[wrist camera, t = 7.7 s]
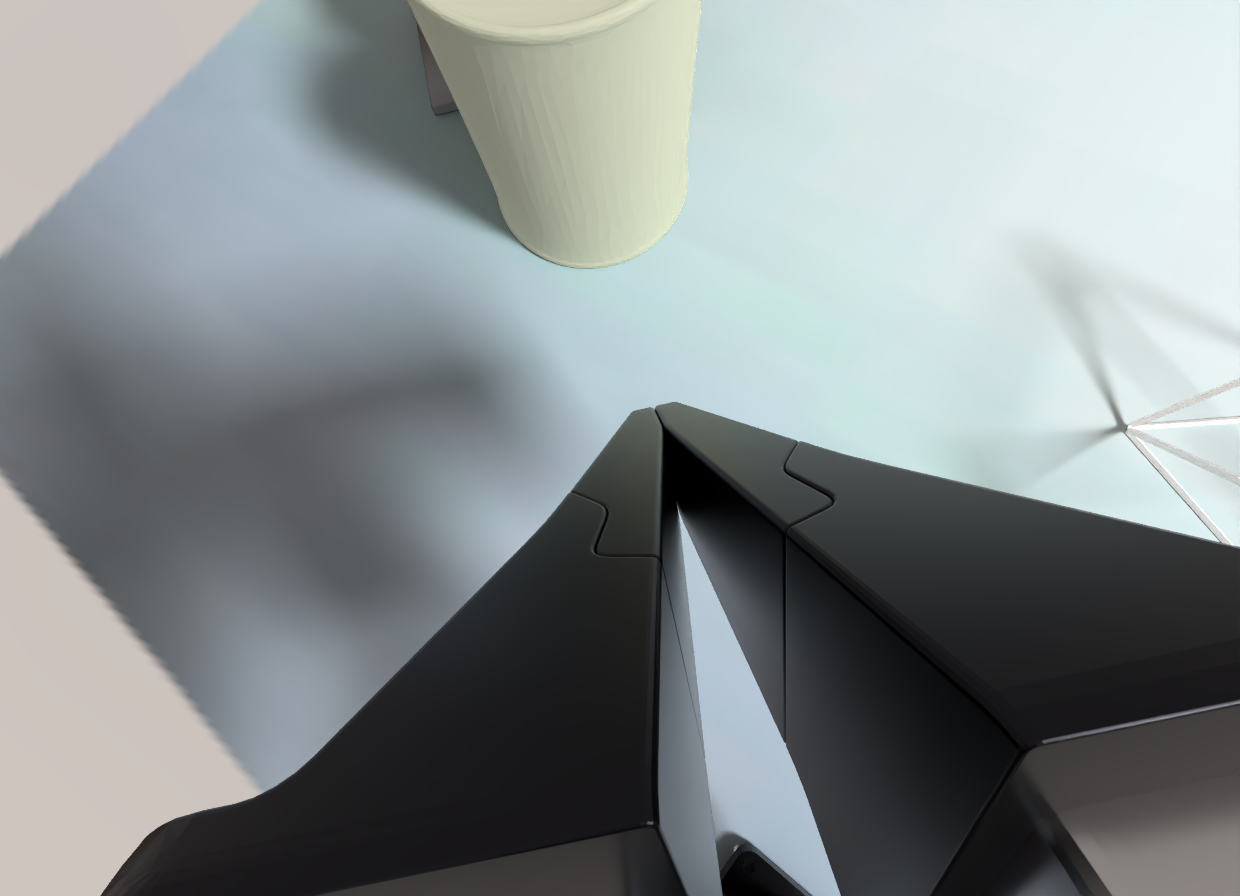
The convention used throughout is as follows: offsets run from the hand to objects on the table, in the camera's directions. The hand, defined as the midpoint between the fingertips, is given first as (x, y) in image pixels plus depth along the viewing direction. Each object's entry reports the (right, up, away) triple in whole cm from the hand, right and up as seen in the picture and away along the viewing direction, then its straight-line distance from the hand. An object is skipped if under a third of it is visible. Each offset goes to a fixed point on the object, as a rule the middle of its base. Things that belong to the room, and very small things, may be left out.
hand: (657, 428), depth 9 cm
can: (-2, +13, +16) cm, 20 cm away
